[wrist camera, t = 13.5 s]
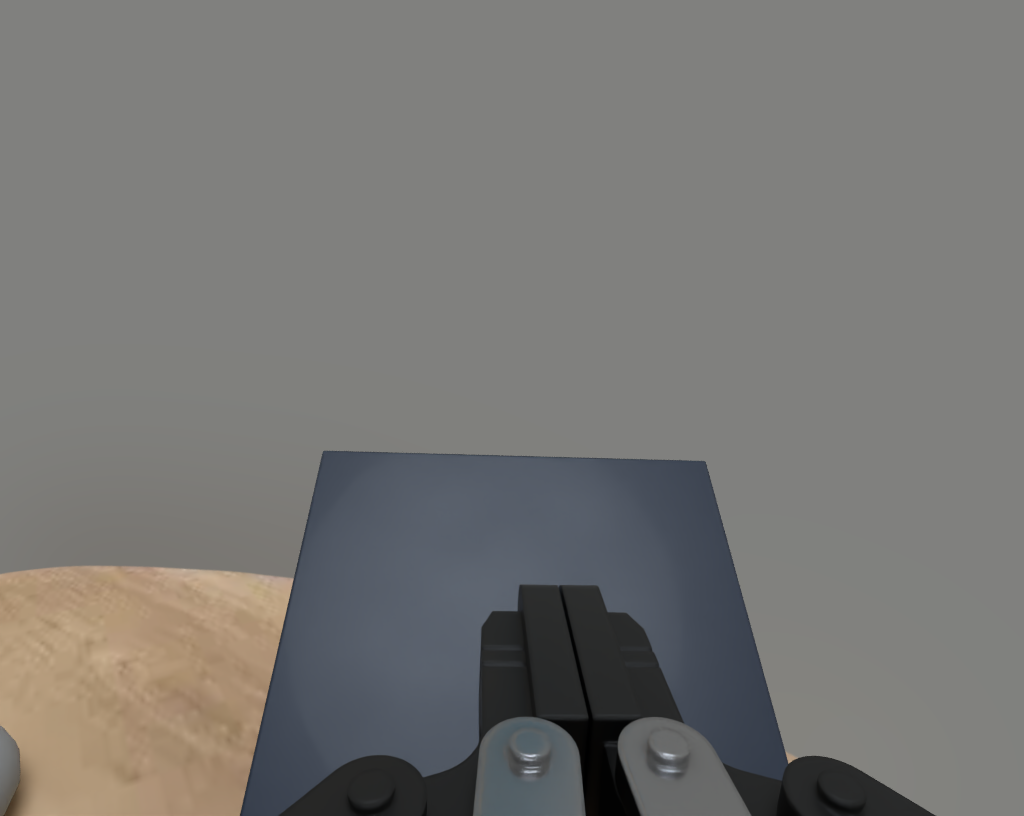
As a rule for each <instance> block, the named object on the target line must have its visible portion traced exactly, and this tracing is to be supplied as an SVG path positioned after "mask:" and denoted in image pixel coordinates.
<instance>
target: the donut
mask: <svg viewBox="0 0 1024 816" xmlns="http://www.w3.org/2000/svg"><path fill="white" fill-rule="evenodd" d="M19 782H20V752H19V748H18V746H17V744H16V742H15V740H14V739H13V738H12V737H11V736H10V735H9V734H8V733H7V731H6V730H5V729H4V728H3V727H2V726H0V816H4V814H5V812H6V810H7V808H8V806H9V804H10V802H11V799H12V797H13V795H14V793H15V791H16V789H17V787H18V784H19Z"/></svg>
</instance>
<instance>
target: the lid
mask: <svg viewBox="0 0 1024 816" xmlns="http://www.w3.org/2000/svg"><path fill="white" fill-rule="evenodd" d="M520 584H525V585H558V588H559V586H560V585H597V586H598V587H599V589H600V592H601V594H602V597H603V600H604V603H605V606H606V609H607V612H626V613H627V614H629V615H630V616H631V617H632V618H633V619H634V620H635V621H636V622H637V623H638V624H639V625H640V626H642V627H643V628H644V630H645V632H646V634H647V637H648V639H649V642H650V644H651V646H652V652H654V653H655V656H656V658H657V660H658V663H659V668H661V670H662V672H663V674H664V677H665V679H666V682H667V684H668V686H669V689H670V691H671V693H672V696H673V698H674V700H675V703H676V705H677V707H678V710H679V712H680V714H681V717H682V719H683V722H684V724H686V725H688V726H690V727H692V728H693V729H695V730H696V731H698V732H699V733H700V734H701V735H703V736H704V737H705V738H706V739H707V740H708V741H709V742H710V744H711V745H712V747H713V748H714V750H715V751H716V753H717V755H718V757H719V759H720V760H721V762H723V763H724V764H727V765H729V766H731V767H734V768H736V769H740V770H743V771H746V772H750V773H754V774H758V775H762V776H766V777H769V778H773V779H777V780H781V781H782V778H783V774H784V771H785V768H786V767H787V766H788V760H787V757H786V753H785V749H784V746H783V742H782V738H781V735H780V731H779V728H778V724H777V720H776V717H775V713H774V709H773V706H772V702H771V698H770V695H769V691H768V687H767V684H766V680H765V677H764V673H763V669H762V666H761V662H760V658H759V655H758V651H757V647H756V644H755V640H754V637H753V633H752V630H751V625H750V622H749V618H748V615H747V611H746V607H745V604H744V600H743V597H742V593H741V589H740V585H739V582H738V578H737V574H736V571H735V567H734V564H733V560H732V556H731V553H730V549H729V545H728V542H727V538H726V534H725V531H724V527H723V523H722V520H721V516H720V513H719V509H718V505H717V502H716V498H715V494H714V491H713V487H712V484H711V480H710V476H709V472H708V469H707V465H706V462H705V461H682V460H645V459H608V458H570V457H534V456H498V455H462V454H425V453H388V452H351V451H350V452H349V451H324V452H323V454H322V458H321V462H320V467H319V471H318V475H317V480H316V484H315V488H314V493H313V497H312V502H311V506H310V510H309V515H308V519H307V524H306V528H305V532H304V537H303V541H302V546H301V550H300V555H299V559H298V563H297V568H296V572H295V576H294V581H293V585H292V589H291V594H290V598H289V603H288V607H287V611H286V616H285V620H284V624H283V629H282V633H281V638H280V642H279V646H278V651H277V655H276V660H275V664H274V668H273V673H272V677H271V681H270V686H269V690H268V695H267V699H266V703H265V708H264V712H263V717H262V721H261V725H260V730H259V734H258V738H257V743H256V747H255V752H254V756H253V760H252V765H251V769H250V774H249V778H248V782H247V787H246V791H245V796H244V800H243V804H242V809H241V813H240V816H278V815H280V814H281V813H282V812H284V811H285V810H286V809H287V808H289V807H290V806H291V805H292V804H294V803H295V802H296V801H297V800H299V799H300V798H301V797H302V796H304V795H305V794H306V793H307V792H309V791H310V790H311V789H312V788H314V787H315V786H316V785H317V784H319V783H320V782H321V781H322V780H324V779H325V778H326V777H327V776H329V775H330V774H331V773H332V772H334V771H335V770H336V769H338V768H339V767H341V766H342V765H344V764H346V763H348V762H350V761H352V760H355V759H358V758H361V757H365V756H371V755H388V756H394V757H397V758H400V759H403V760H405V761H407V762H409V763H410V764H412V765H413V766H414V767H415V768H416V769H417V770H418V771H419V772H420V773H421V775H422V777H426V776H430V775H433V774H437V773H440V772H443V771H446V770H449V769H451V768H453V767H455V766H457V765H458V764H460V763H461V762H463V761H464V760H465V759H466V758H468V757H469V756H470V755H471V754H472V752H473V751H474V750H475V749H476V747H477V745H478V743H479V676H480V650H481V627H482V626H483V624H484V623H485V621H486V620H487V618H488V617H489V615H490V614H491V612H492V611H517V609H518V592H519V585H520Z"/></svg>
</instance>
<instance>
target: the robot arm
mask: <svg viewBox="0 0 1024 816" xmlns="http://www.w3.org/2000/svg"><path fill="white" fill-rule="evenodd" d="M278 816H935V815H934V814H932V813H930V812H929V811H927V810H925V809H924V808H922V807H920V806H919V805H917V804H915V803H914V802H912V801H910V800H909V799H907V798H905V797H904V796H902V795H900V794H899V793H897V792H895V791H894V790H892V789H890V788H889V787H887V786H885V785H884V784H882V783H880V782H879V781H877V780H875V779H874V778H872V777H870V776H869V775H867V774H865V773H863V772H862V771H860V770H858V769H857V768H855V767H853V766H851V765H849V764H846V763H844V762H841V761H838V760H835V759H832V758H827V757H821V756H805V757H801V758H798V759H795V760H793V761H792V762H791V763H789V764H788V766H787V767H786V768H785V771H784V774H783V778H782V781H781V780H777V779H773V778H769V777H766V776H762V775H758V774H754V773H750V772H746V771H743V770H740V769H736V768H734V767H731V766H729V765H727V764H724V763H723V762H721V760H720V759H719V757H718V755H717V753H716V751H715V750H714V748H713V747H712V745H711V744H710V742H709V741H708V740H707V739H706V738H705V737H704V736H703V735H701V734H700V733H699V732H698V731H696V730H695V729H693V728H692V727H690V726H688V725H686V724H684V722H683V719H682V717H681V714H680V712H679V710H678V707H677V705H676V703H675V700H674V698H673V696H672V693H671V691H670V689H669V686H668V684H667V682H666V679H665V677H664V674H663V672H662V670H661V668H659V663H658V660H657V658H656V656H655V653H654V652H652V646H651V644H650V642H649V639H648V637H647V634H646V632H645V630H644V628H643V627H642V626H640V625H639V624H638V623H637V622H636V621H635V620H634V619H633V618H632V617H631V616H630V615H629V614H627V613H626V612H607V609H606V606H605V603H604V600H603V597H602V594H601V592H600V589H599V587H598V586H597V585H560V586H559V588H558V585H525V584H520V585H519V592H518V609H517V611H492V612H491V614H490V615H489V617H488V618H487V620H486V621H485V623H484V624H483V626H482V627H481V650H480V676H479V743H478V745H477V747H476V749H475V750H474V751H473V752H472V754H471V755H470V756H469V757H468V758H466V759H465V760H464V761H463V762H461V763H460V764H458V765H457V766H455V767H453V768H451V769H449V770H446V771H443V772H440V773H437V774H433V775H430V776H426V777H422V775H421V773H420V772H419V771H418V770H417V769H416V768H415V767H414V766H413V765H412V764H410V763H409V762H407V761H405V760H403V759H400V758H397V757H394V756H388V755H371V756H365V757H361V758H358V759H355V760H352V761H350V762H348V763H346V764H344V765H342V766H341V767H339V768H338V769H336V770H335V771H334V772H332V773H331V774H330V775H329V776H327V777H326V778H325V779H324V780H322V781H321V782H320V783H319V784H317V785H316V786H315V787H314V788H312V789H311V790H310V791H309V792H307V793H306V794H305V795H304V796H302V797H301V798H300V799H299V800H297V801H296V802H295V803H294V804H292V805H291V806H290V807H289V808H287V809H286V810H285V811H284V812H282V813H281V814H280V815H278Z"/></svg>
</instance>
